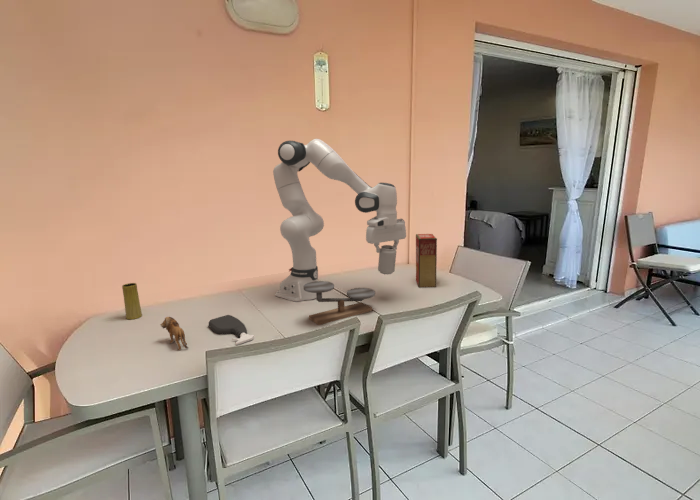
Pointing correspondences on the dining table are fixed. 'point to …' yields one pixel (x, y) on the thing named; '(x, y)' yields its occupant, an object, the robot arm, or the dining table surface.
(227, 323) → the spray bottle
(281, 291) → the robot arm
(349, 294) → the scale
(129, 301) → the vase
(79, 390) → the dining table surface
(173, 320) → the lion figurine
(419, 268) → the food packaging
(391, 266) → the can
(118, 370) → the dining table surface
